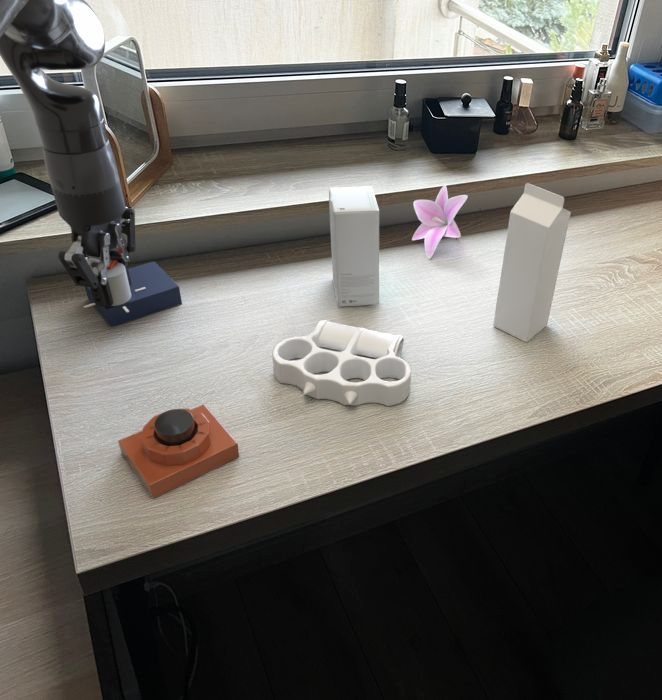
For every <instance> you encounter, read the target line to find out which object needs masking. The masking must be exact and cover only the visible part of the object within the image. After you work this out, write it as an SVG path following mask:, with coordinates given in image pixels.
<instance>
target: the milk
mask: <svg viewBox="0 0 662 700" xmlns="http://www.w3.org/2000/svg"><path fill="white" fill-rule="evenodd" d="M564 204H565V197H564V196H562V195H561V194H557V193H554V192H553V191H549V190H547V189H545V188H541V187H539V186H536V185H534V184H532V183H530V182H526V183H525V184H524V189H523V194H521V196H520V197H519V199H518V200H517V202H516V203H515V204H514V205H513V207H512V208H511V210H510V213H509V218H508V224H507V225H508V226H507V231H506V232H507V233H506V238H505V246H504V252H503V258H502V264H501V272H500V277H499V285H498V292H497V297H496V303H495V311H494V317H493V324H492V325H493V327H494V328H497V329H498V330H500V331H502V332H504V333H507V335H510V336H513V337H515V338H516V339H518V340H521V341H522V342H525V343H528V342H530V340H531V339H533V338H534V337H535V336H536V335H537V334H539V333H540V332H541V331H542V330H544V329H545V328H546V327H547V325H548V323H549V318H550V313H551V310H552V309H551V308H552V303H553V300H554V295H555V289H556V285H557V280H558V276H559V270H560V267H561V260H562V256H563V252H564V246H565V242H566V238H567V232H568V229H569V222H570V219H571V213H572V212H571V211H570V210H568V209H566V208H564Z"/></svg>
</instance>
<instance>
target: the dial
mask: <svg viewBox="0 0 662 700" xmlns="http://www.w3.org/2000/svg"><path fill="white" fill-rule="evenodd" d="M111 261H112V260H111ZM111 261H110V265H109V266H107V282H109V286H110V290H111V294H112V298H113V302H114V303H113V305H112V306H117V305H121V304H124V303H126V302H128V301H129V300H130V298H131V291H130V287H129V282H128V278H127V273H126V269H125V266H124V265H123V264H122V263H119V262H118V261H117V260H113V261H112V262H111ZM92 270H93V272H94V274H97V275H98V269H97V268H96V267H92Z"/></svg>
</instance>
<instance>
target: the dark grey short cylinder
mask: <svg viewBox="0 0 662 700" xmlns="http://www.w3.org/2000/svg"><path fill="white" fill-rule="evenodd" d="M182 409H183V408H174V409H173V408H172V409H168V410H169V411H168V410H166V411H163V412H164V413H163V412H161V413H162V414H161V413H160V414H161V415H159V414H158V415H159V416H158V417H157V419H156V420H155V423H154V427H155V431H156V435H157V439H158V441H159V442H160V443H162V444H163V445H166V446H177V445H181V444H184V443H186V442H188V441H190V440H191V439H192V438H193V437H194V435H195V432H196V428H195V423H194V418H193V415H192V414H191V413H190V412H188V411H186V410H182Z"/></svg>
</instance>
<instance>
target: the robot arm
mask: <svg viewBox="0 0 662 700" xmlns="http://www.w3.org/2000/svg"><path fill="white" fill-rule="evenodd" d="M102 26H103V25H102V24H101V22H100V20H99V17H98V15H97V14H96V13H95V11H94V9H93V8H92V7H91V6H90V5H89V3H88V2H87V1H86V0H0V58H1V59H2V61H3V63H4V64H5V66H6V68H7V69H8V71H9V72H10V73H11V75H12V76H13V78H14V80H15V82H16V83H17V85H18V86H19V88H20V90H21V92H22V94H23V95H24V98H25V99H26V102H27V104H28V106H29V108H30V111H31V113H32V116H33V119H34V123H35V126H36V129H37V133H38V136H39V137H38V138H39V140H40V145H41V148H42V153H43V161H44V166H45V170H46V173H47V177H48V180H49V183H50V187H51V191H52V194H53V198H54V202H55V205H56V209H57V212H58V215H59V217H60V218H61V219H62V220H63V221H64V222H65V223H66V224H67V225H68V226H69V228H70V231H71V232H70V241H71V243H72V244H71V246H70V247H69V249H68V250H67V251H66V250H60V251H59V252H58V260H59V261H60V263H61V264H62V266H63V267H64V269H65V271H66V272H67V274H68V275H69V276H70V278H71V280H72V281H73V283H74V284H75V286H78V287H83V288H85V287H90V290H91V293H92V297H93V300H94V303H95V304H97V305H98V306H104V307H111V306H112V305H113V303H114V302H113V298H112V294H111V290H110V286H109V282H107V266H109V265H110V262H112V261H113V260H117V261H118V262H119V263H122V264H123V265H124V266H125V269H126V273H127V278H128V282H129V287H130V286H131V285H132V282H131V276H130V271H129V269H130V267H129V264H128V263H129V262H130V259H131V256H130V253H135V251H136V213H135V209H134V208H131V207H127V206H126V202H125V198H124V193H123V188H122V184H121V178H120V175H119V170H118V166H117V162H116V157H115V154H114V151H113V149H112V146H111V144H110V141H109V137H108V131H107V127H106V124H105V123H106V122H105V119H104V114H103V110H102V105H101V103H100V99H99V98H98V96H97V94H96V93H95V92H94V91H92V90H91V89H88V88H85V87H82V86H80V85H79V86H78V85H73V84H68V83H63V82H59V81H58V80H54V79H53V78H51V77H50V76H49V75H48V74H47V73H46V72H45V71H69V70H70V71H76V70H77V71H79V70H88V69H91V68H94V67H96V66H97V65H98V64H99V63H100V62H101V60H102V59H103V57H104V54H105V50H106V40H105V39H106V37H105V32H104V30H103V27H102ZM124 235H126V237H125V236H124ZM126 239H127V240H126ZM94 257H95V258H94ZM94 267H96V268H97V269H98V275H97V274H94V272H93V270H92V269H93V268H94Z"/></svg>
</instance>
